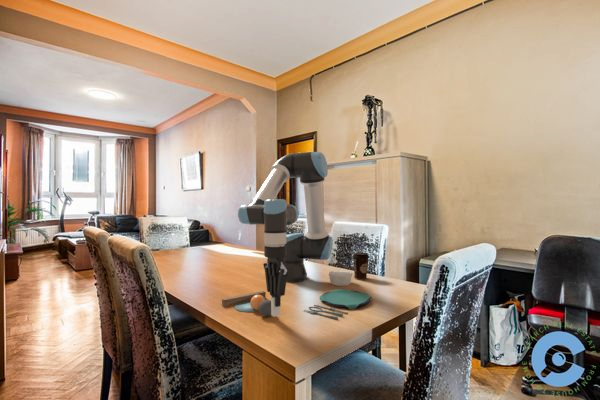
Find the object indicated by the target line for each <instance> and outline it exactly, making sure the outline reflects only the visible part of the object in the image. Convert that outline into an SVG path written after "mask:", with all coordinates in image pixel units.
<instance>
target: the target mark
mask: <svg viewBox="0 0 600 400" xmlns="http://www.w3.org/2000/svg"><path fill="white" fill-rule="evenodd" d="M234 309H235V310H237V311H238V312H242V313H256V312H259V310H254V309H253V308H252V307H251V304H250V301H247V302H242V303H237V304H235V305H234Z"/></svg>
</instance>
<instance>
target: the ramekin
mask: <svg viewBox="0 0 600 400" xmlns="http://www.w3.org/2000/svg"><path fill="white" fill-rule="evenodd" d="M328 276H329V282H330V284H331V285H332V286H338V287H347V286H349V285H350V284H351V282H352V276H353V273H352V272H351V271H348V270H332V271H329V272H328Z"/></svg>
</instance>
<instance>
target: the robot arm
mask: <svg viewBox="0 0 600 400" xmlns="http://www.w3.org/2000/svg"><path fill="white" fill-rule="evenodd" d="M328 169H329V167H328V162H327V159H326V157H325V155H324V153H323V152H320V151H319V152H318V151H309V152H294V153H292V152H291V153H288V154H285V155H284V156H281V157H280V158H279V159H277V161H275V162H274V164H272V166H271V168H270V170H269V174H268V176H267V178H266V179H265V180H264V182H263V183H262V185H261V186H260V188H259V190H258V191H257V192H256V194H255V196H253V199H252V200H251V201H250V202H249V204H248V203H247V204H242V205H240V206H239V208H238V211H237V217H238V221H239V222H240V223H241V224H243V225H250V226H251V225H255V226H256V225H259V226H260V225H264V230H263V235H264V236H263V240H264V241H263V244H264V248H263V251H264V253H263V256H264V257H265V258H266V262H263V265H262V266H263V269H264V274H265V275H264V276H265V282H266V283H265V284H266V291H267V293H269V295H270V301H271V315H270V316H271V317H278V316H280V315H281V302H282V301H281V297H283V296H285V295H286V286H287V283H288V282H289V283H291V282H292V283H293V282H294V283H296V282H302V281H303V282H304V281H306V280H307V279H308V273H307V270H306V266H305V263H304V260H305V259H306V260H316V261H317V260H318V261H323V260H324V261H327V260H329V259H330V257H331V255H332V251H333V241H334V240H333V236H330V234H329V231H327V230H326V225H325V224H326V223H325V214H324V213H325V211H324V198H323V197H324V195H323V187H322V185H323V183H324V181H325V178H326V177H327V176H328V172H329V171H328ZM293 178H294V179H296V178H297V179H299V183H300V184H302V185H303V191H304V200H305V201H304V202H305V212H306V214H305V215H306V221H307V222H306V223H307V231H306V233H305V235H304V232H295V233H289V234H288V233H287V228H288V227H287V226H291V225H292V224H295V223H296V222H297V221H298V219H299V216H300V213H299V210H298V208H297V207H296V206H295V205H293V204H290V203H288V204H287V200H286V199H284V198H283V199H279V198H277V196H278V194H279V192H280V191H281V189H282V187H283V186H284V183H287V182H288V181H289V179H293Z"/></svg>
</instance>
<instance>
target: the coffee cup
mask: <svg viewBox="0 0 600 400" xmlns="http://www.w3.org/2000/svg"><path fill="white" fill-rule="evenodd" d="M369 258H370V256H369V254H368V253H367V252H354V253H353V255H352V261H353V272H354V276H353V277H354V279H355V280H361V281H362V280H366V279H367V277H368V276H367V275H368V274H367V273H368V269H369Z"/></svg>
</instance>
